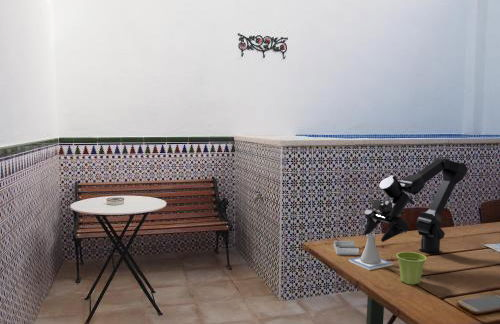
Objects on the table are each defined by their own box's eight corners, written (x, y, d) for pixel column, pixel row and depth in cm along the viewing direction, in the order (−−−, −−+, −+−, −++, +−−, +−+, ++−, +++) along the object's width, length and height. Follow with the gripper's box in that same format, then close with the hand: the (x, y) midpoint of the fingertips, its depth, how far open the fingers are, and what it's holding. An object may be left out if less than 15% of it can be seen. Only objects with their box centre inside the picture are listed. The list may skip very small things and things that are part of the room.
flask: (384, 262, 172) (385, 235, 171) (370, 265, 169) (370, 238, 168) (370, 257, 178) (371, 231, 177) (356, 260, 175) (356, 234, 174)
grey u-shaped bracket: (354, 246, 195) (354, 240, 194) (358, 255, 184) (358, 247, 183) (333, 246, 195) (333, 239, 195) (336, 254, 184) (337, 247, 184)
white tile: (392, 265, 171) (392, 262, 171) (368, 270, 166) (369, 267, 166) (371, 257, 181) (371, 254, 181) (348, 261, 176) (348, 259, 176)
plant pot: (425, 278, 158) (426, 253, 157) (425, 288, 149) (426, 262, 148) (396, 275, 161) (397, 250, 160) (395, 284, 152) (395, 259, 151)
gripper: (368, 188, 182) (345, 219, 178) (403, 196, 165) (379, 230, 161) (383, 206, 186) (361, 237, 182) (419, 215, 170) (395, 249, 166)
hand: (373, 238), depth 173 cm, fingers open, 9 cm apart
